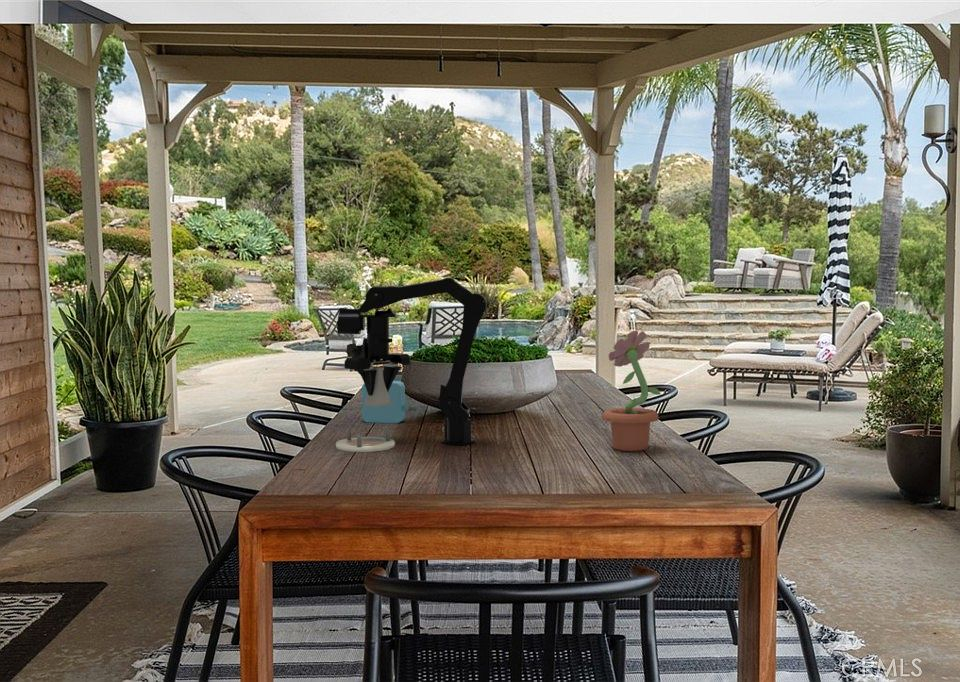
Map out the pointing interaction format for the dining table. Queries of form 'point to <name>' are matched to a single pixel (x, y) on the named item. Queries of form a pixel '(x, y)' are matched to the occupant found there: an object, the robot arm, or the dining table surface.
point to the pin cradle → (365, 443)
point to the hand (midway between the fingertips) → (378, 394)
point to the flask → (378, 391)
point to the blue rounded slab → (386, 413)
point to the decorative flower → (629, 421)
